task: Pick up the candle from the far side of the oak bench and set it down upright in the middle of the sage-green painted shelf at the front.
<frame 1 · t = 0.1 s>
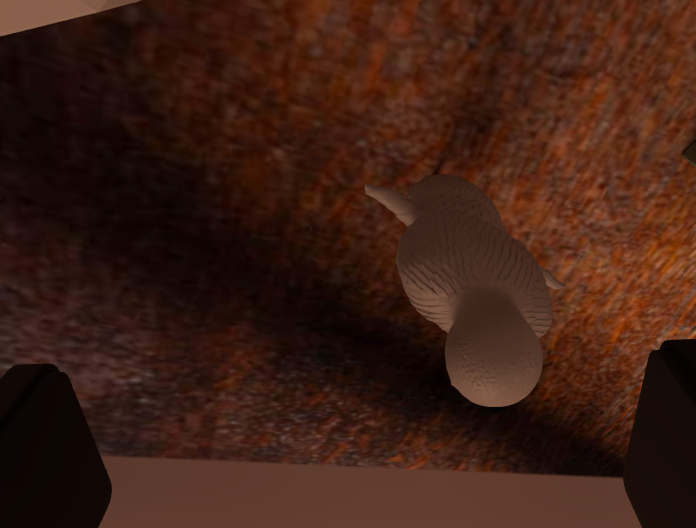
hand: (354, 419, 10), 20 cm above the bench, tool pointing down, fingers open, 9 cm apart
figurine: (443, 185, 29), on the bench
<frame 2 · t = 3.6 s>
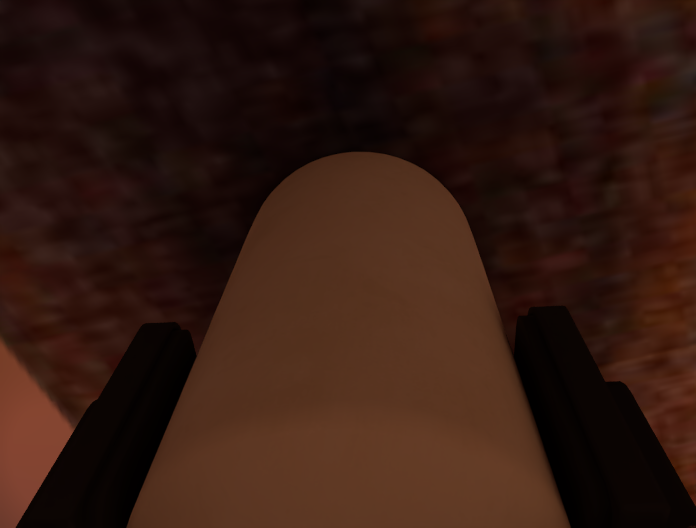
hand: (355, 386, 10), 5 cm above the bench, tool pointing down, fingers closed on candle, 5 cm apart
candle: (360, 250, 15), on the bench, touching gripper
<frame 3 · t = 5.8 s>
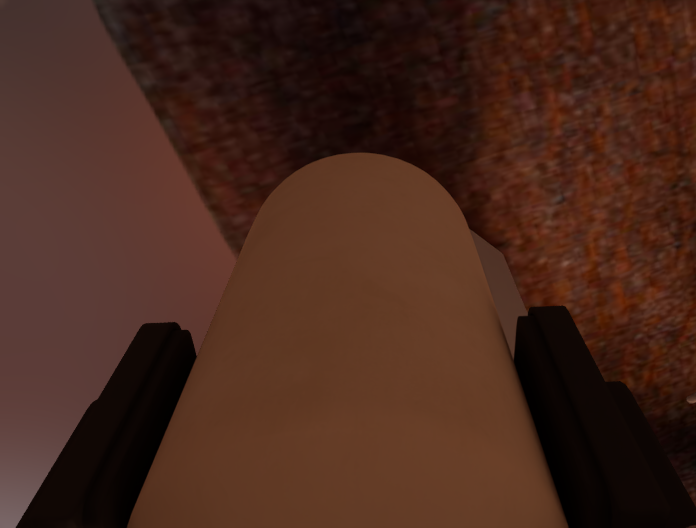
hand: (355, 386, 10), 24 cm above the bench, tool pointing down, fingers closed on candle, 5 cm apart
candle: (360, 251, 15), point 19 cm above the bench, touching gripper
jar: (431, 284, 37), on the bench
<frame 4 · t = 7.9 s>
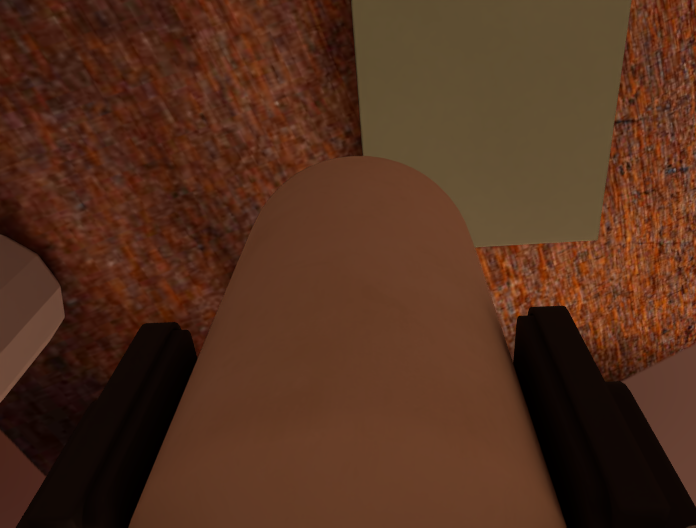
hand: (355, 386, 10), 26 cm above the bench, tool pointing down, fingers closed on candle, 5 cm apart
candle: (360, 254, 15), point 21 cm above the bench, touching gripper
shelf: (468, 69, 32), on the bench
jar: (3, 283, 41), on the bench
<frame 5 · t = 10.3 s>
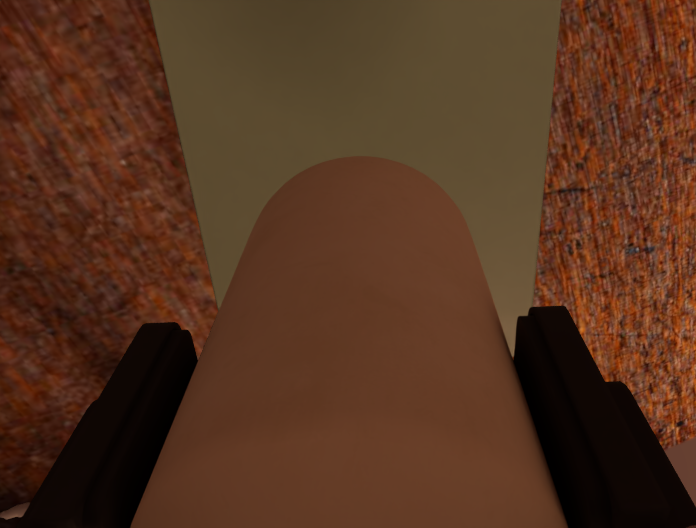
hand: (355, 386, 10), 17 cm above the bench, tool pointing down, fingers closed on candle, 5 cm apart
candle: (361, 254, 15), point 11 cm above the bench, touching gripper
shelf: (366, 124, 25), on the bench
when the fingers open (11 cm above the bench, at t = 12.1 s): candle stays where it is, resting on shelf.
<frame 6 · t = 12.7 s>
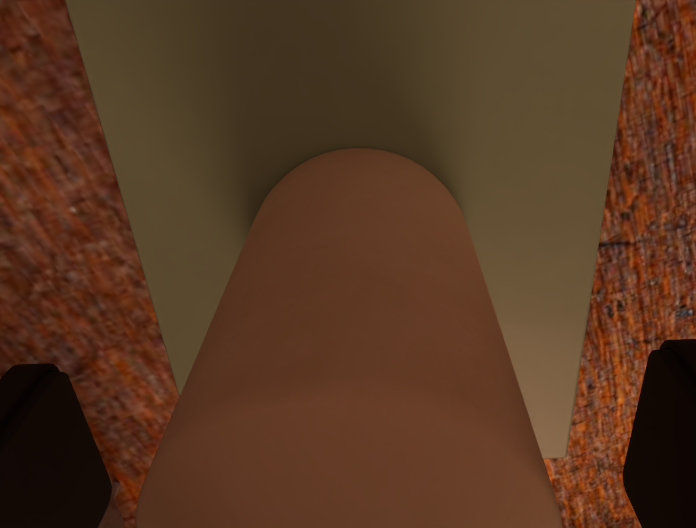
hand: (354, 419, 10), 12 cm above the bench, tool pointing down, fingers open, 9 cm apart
candle: (359, 244, 15), point 6 cm above the bench, touching shelf
shelf: (365, 166, 20), on the bench
figurine: (107, 483, 29), on the bench
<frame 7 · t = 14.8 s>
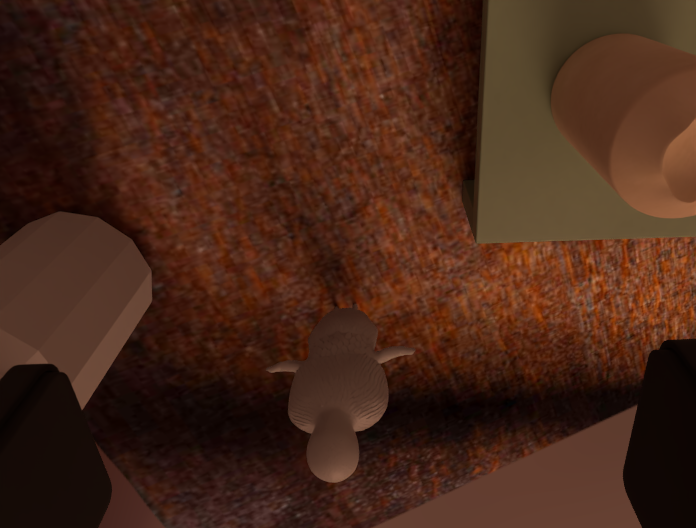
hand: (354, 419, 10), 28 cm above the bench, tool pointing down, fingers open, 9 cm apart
candle: (606, 92, 28), point 6 cm above the bench, touching shelf
shelf: (573, 68, 33), on the bench
jar: (92, 266, 41), on the bench
figurine: (346, 307, 42), on the bench
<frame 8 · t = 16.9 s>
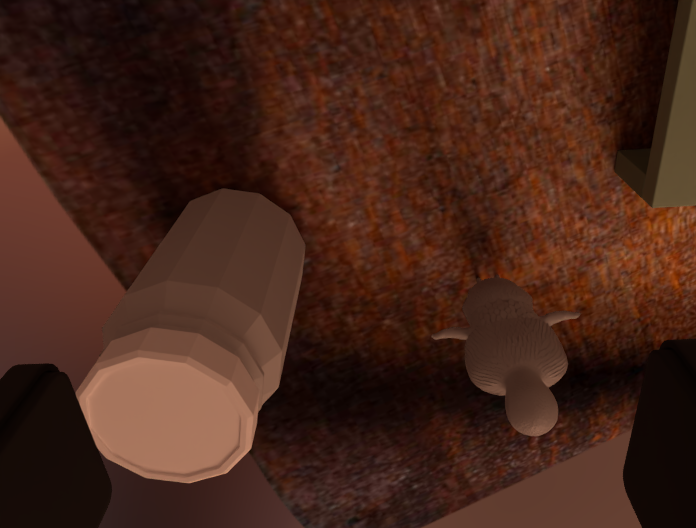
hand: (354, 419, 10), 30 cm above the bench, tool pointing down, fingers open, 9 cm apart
jar: (241, 243, 43), on the bench
figurine: (487, 278, 43), on the bench
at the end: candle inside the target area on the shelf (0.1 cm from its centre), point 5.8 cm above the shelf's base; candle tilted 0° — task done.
